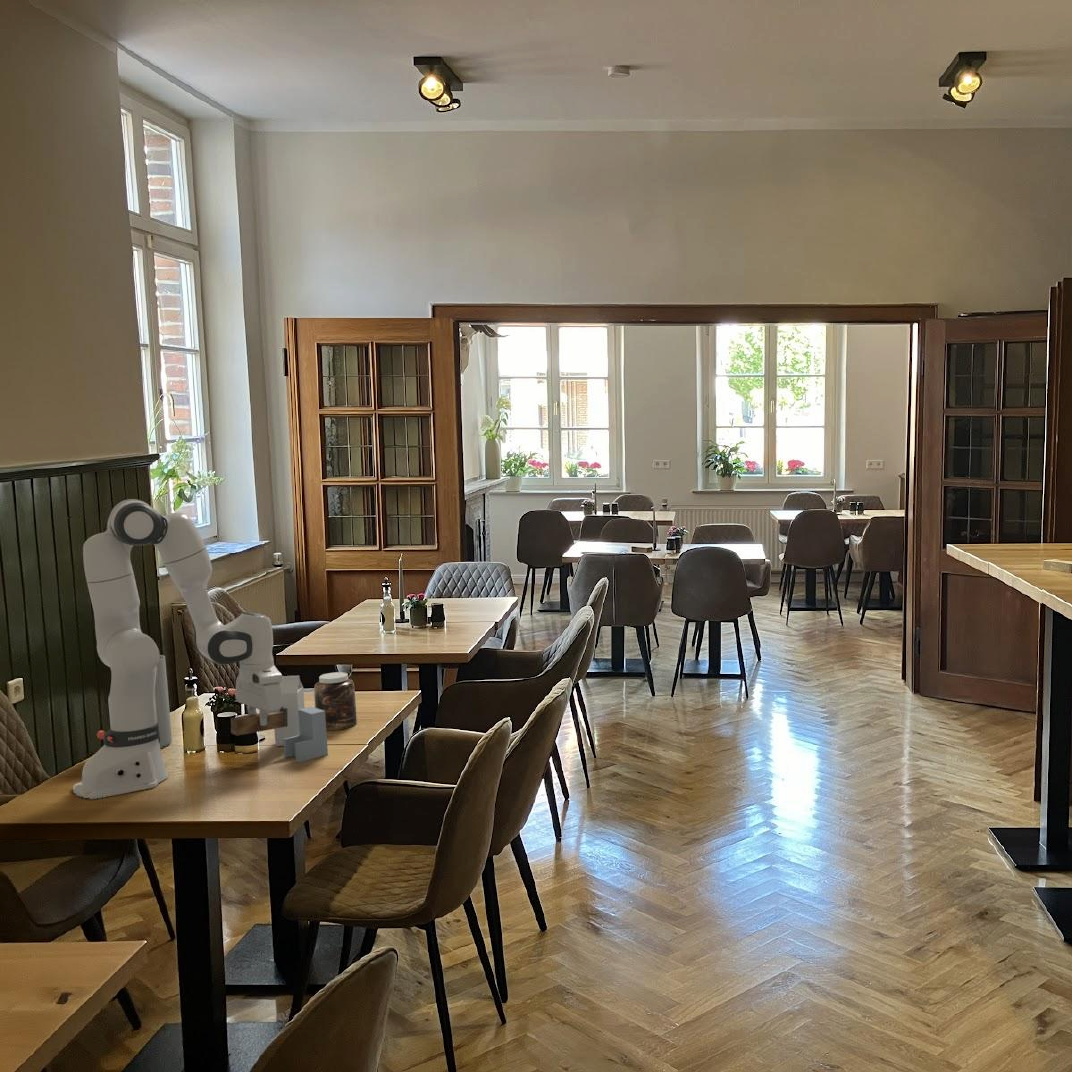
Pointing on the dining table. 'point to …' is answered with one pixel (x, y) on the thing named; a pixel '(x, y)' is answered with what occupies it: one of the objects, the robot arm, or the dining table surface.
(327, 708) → the jar
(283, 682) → the milk carton
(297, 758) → the blue l-shaped block
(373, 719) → the dining table surface
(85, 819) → the dining table surface
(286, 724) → the rail
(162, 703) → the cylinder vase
